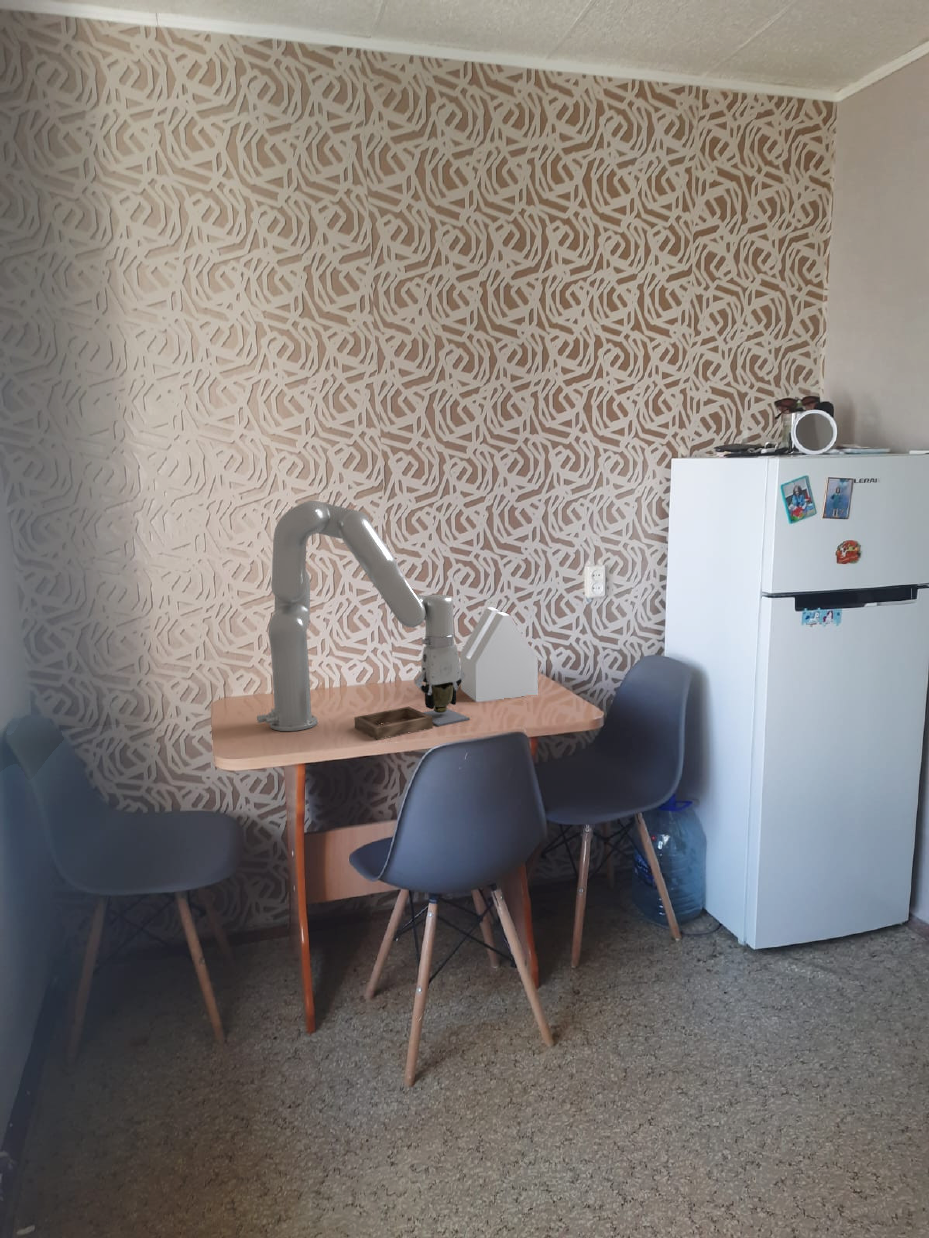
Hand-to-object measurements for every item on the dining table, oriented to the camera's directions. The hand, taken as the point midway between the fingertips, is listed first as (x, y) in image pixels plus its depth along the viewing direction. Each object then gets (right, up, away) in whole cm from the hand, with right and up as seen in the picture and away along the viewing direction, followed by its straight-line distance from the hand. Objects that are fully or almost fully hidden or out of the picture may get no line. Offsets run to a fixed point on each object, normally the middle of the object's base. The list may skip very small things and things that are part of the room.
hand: (440, 705), depth 229 cm
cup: (0, -2, 0) cm, 2 cm away
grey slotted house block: (+17, +1, +26) cm, 31 cm away
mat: (0, -3, +1) cm, 4 cm away
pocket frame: (-12, -5, -8) cm, 15 cm away
